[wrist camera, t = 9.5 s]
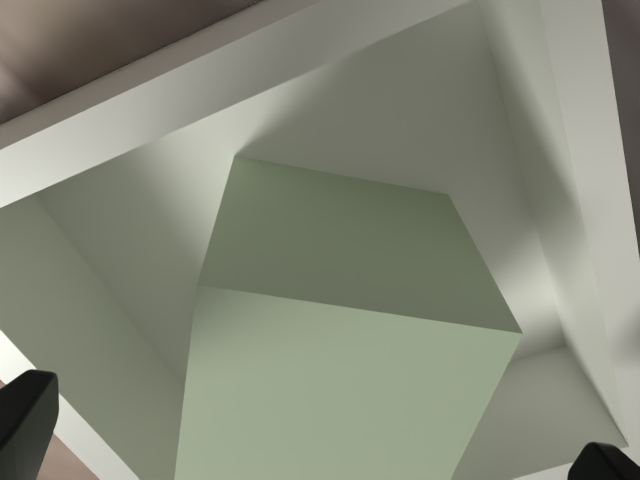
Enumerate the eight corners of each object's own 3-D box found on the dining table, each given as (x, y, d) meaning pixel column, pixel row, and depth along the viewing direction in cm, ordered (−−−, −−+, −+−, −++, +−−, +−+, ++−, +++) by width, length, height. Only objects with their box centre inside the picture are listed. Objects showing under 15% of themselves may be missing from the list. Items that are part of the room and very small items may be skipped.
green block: (391, 354, 15) (426, 526, 11) (209, 329, 15) (171, 501, 10) (448, 194, 13) (523, 333, 8) (234, 155, 12) (197, 284, 8)
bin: (223, 457, 18) (205, 585, 15) (-28, 138, 12) (-156, 222, 9) (589, 341, 16) (669, 457, 13) (488, -107, 10) (583, -120, 7)
